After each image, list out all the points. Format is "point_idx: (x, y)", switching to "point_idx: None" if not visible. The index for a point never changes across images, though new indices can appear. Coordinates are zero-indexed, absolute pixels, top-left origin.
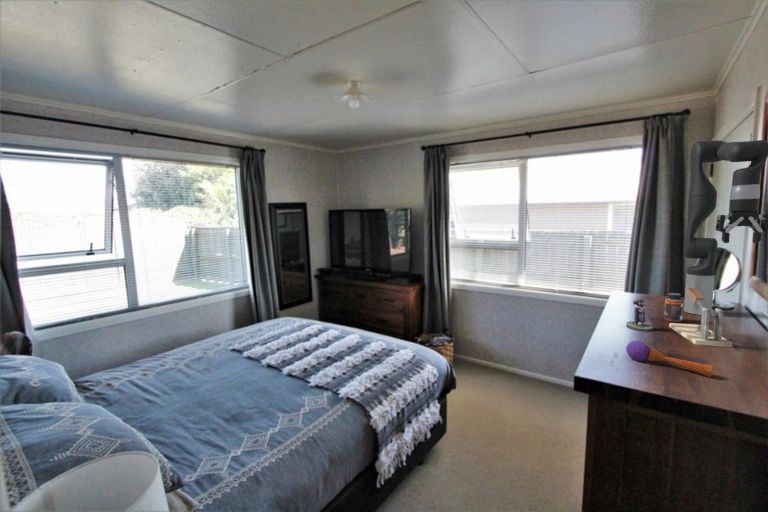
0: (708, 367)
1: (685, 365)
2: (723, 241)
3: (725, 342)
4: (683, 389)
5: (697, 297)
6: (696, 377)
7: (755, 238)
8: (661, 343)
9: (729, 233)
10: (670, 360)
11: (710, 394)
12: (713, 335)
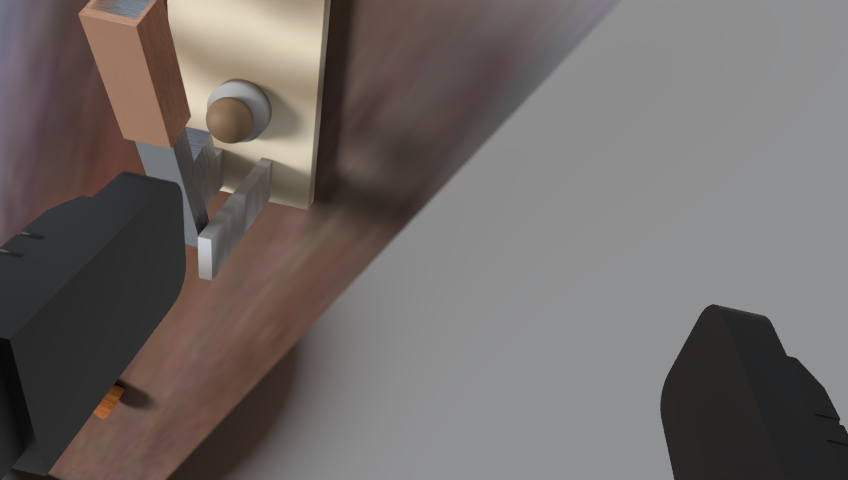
0: (96, 414)
1: None
2: (120, 181)
3: (284, 203)
4: None
5: (129, 137)
6: None
7: (695, 445)
8: (61, 160)
9: (45, 465)
10: None
11: (83, 454)
12: (256, 165)
